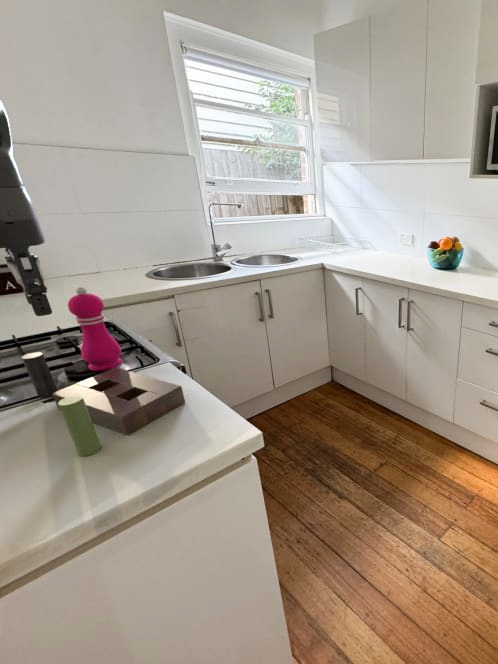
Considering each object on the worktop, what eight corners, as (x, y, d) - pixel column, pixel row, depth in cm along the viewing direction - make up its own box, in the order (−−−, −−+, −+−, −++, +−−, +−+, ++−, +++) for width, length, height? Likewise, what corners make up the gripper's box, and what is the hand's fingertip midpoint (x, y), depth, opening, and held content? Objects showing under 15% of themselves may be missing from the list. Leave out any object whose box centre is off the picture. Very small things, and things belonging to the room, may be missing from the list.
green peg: (74, 453, 63) (53, 402, 59) (93, 443, 66) (74, 393, 62) (86, 458, 62) (65, 407, 58) (105, 447, 65) (86, 397, 61)
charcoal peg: (37, 401, 77) (17, 356, 73) (54, 394, 80) (36, 351, 76) (46, 404, 76) (27, 359, 72) (63, 397, 79) (46, 353, 75)
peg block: (127, 435, 68) (121, 417, 66) (58, 410, 74) (51, 393, 73) (185, 402, 78) (181, 385, 77) (120, 383, 84) (115, 367, 83)
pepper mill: (133, 364, 93) (109, 284, 85) (106, 378, 86) (78, 293, 78) (108, 360, 94) (82, 281, 86) (79, 374, 87) (48, 290, 79)
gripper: (-31, 213, 64) (7, 304, 71) (-26, 221, 56) (16, 324, 62) (30, 211, 70) (60, 296, 76) (42, 218, 61) (75, 314, 68)
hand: (40, 309), depth 69 cm, fingers open, 8 cm apart
